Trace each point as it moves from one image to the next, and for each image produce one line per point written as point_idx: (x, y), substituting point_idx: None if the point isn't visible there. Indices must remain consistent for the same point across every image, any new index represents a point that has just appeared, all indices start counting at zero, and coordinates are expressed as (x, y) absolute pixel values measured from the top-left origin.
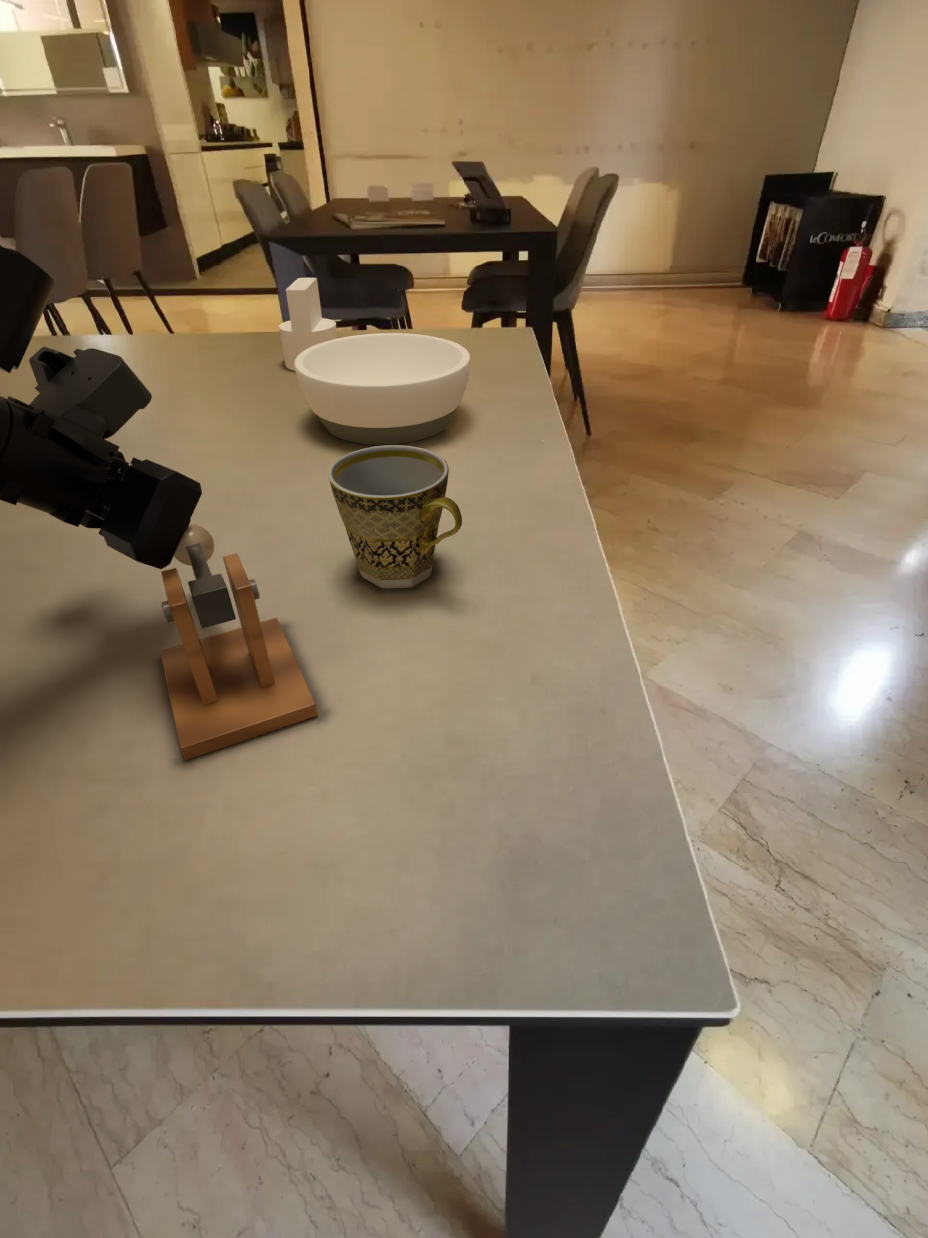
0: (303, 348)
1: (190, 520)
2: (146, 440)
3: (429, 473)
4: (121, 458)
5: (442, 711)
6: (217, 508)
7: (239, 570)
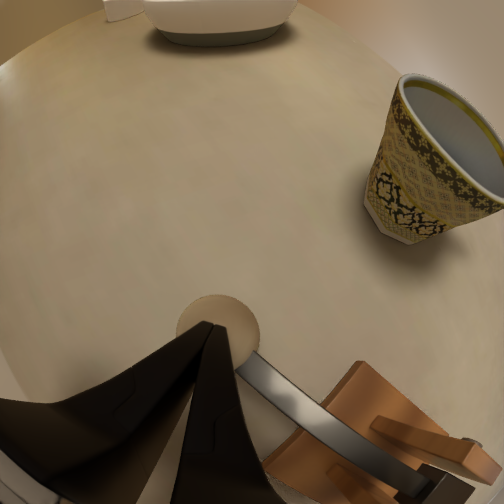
0: (123, 5)
1: (226, 328)
2: (28, 112)
3: (447, 111)
4: (59, 481)
5: (496, 369)
6: (120, 159)
7: (488, 464)
